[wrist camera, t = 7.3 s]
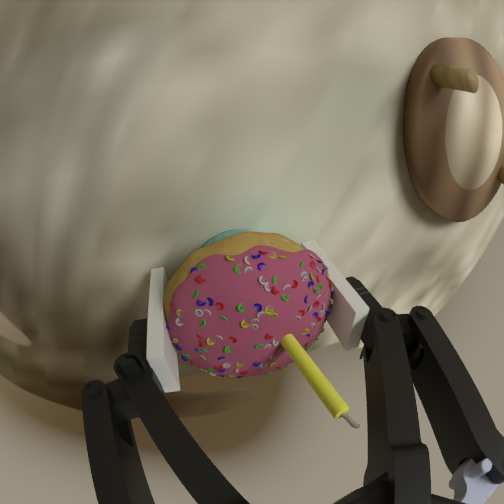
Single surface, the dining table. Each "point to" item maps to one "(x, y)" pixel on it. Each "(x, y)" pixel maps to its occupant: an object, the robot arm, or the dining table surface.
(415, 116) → the plate
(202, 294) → the cupcake
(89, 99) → the dining table surface
